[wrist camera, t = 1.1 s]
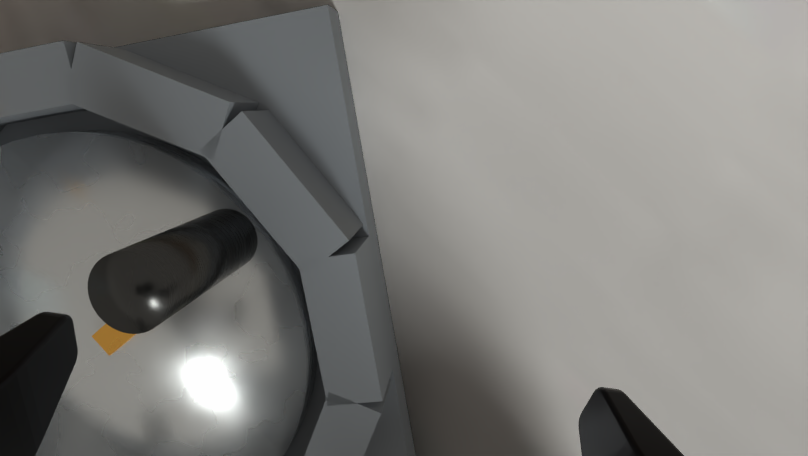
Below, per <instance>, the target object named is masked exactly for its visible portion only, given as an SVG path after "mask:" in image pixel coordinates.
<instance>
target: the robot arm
mask: <svg viewBox="0 0 808 456" xmlns="http://www.w3.org/2000/svg"><path fill="white" fill-rule="evenodd" d="M77 356H78V347H77V341H76V335H75V330H74V324H73V320H72V318H71V317H70V316H69V315H67V314H61V313H53V312H42V313H39V314H37V315H35V316H33V317H32V318H30V319H28V320H26V321H25V322H23V323H21V324H20V325H18V326H16V327H15V328H13V329H11V330H9V331H8V332H6V333H4V334H3V335H1V336H0V456H35V455H36V453H37V451H38V449H39V447H40V445H41V443H42V440H43V438H44V436H45V434H46V431H47V429H48V427H49V424H50V422H51V420H52V417H53V415H54V413H55V410H56V408H57V406H58V403H59V401H60V399H61V396H62V394H63V392H64V389H65V387H66V385H67V382H68V380H69V378H70V375H71V373H72V371H73V368H74V366H75V364H76V360H77ZM579 434H580V442H581V451H582V456H684V455H683V454H682V453H681V452H680V451H679V450H678V449H677V448H676V447H675V446H674V445H673V444H672V443H671V442H670V440H669V439H668V438H667V437H666V436H665V435H664V434H663V433H662V432H661V431H660V430H659V429H658V428H657V427H656V426H655V425H654V424H653V423H652V422H651V420H650V419H649V418H648V417H647V416H646V415H645V414H644V413H643V412H642V411H641V410H640V409H639V408H638V407H637V406H636V405H635V404H634V403H633V402H632V401H631V399H630V398H629V397H628V396H627V395H626V394H625V393H624V392H622V391H621V390H618V389H612V388H604V387H599V388H598V389H596V390H595V391H594V393H593V395H592V396H591V398H590V400H589V401H588V403H587V405H586V406H585V408H584V410H583V411H582V413H581V415H580V418H579Z"/></svg>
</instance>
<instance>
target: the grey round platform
mask: <svg viewBox="0 0 808 456" xmlns="http://www.w3.org/2000/svg"><path fill="white" fill-rule="evenodd" d="M89 130H94V131H117V132H123V133H128V134H134V135H139V136H144V137H148V138H151V139H154V140H157V141H160V142H163V143H166V144H169V145H172V146H174V147H176V148H178V149H180V150H182V151H184V152H187V153H189V154H191V155H193V156H195V157H197V158H199V159H200V160H202V161H203V162H205V163H206V164H208V165H210V166H211V167H213V168H214V169H216V171H217V172H218V173H219V174H220V175H221V177H222V178H223V179H224V180H225V181H226V182H227V184H228V185H229V186H230V187H231V188H232V190H233V191H234V192H235V193H236V194H237V195H238V197H239V198H240V199H241V200H242V201H243V203H244V204H245V205H246V206H247V207H248V209H249V210H250V211H251V212H252V213H253V214H254V216H255V217H256V218H257V219H258V220H259V222H260V223H261V224H262V225H263V226H264V227H265V229H266V230H267V231H268V232H269V233H270V235H271V236H272V237H273V238H274V239H275V241H276V242H277V243H278V244H279V245H280V246H281V248H282V249H283V250H284V251H285V252H286V254H287V255H288V256H289V257H290V258H291V260H292V261H293V262H294V263H295V264H296V265H297V267H298V268H299V271H300V274H301V279H302V284H303V288H304V293H305V298H306V303H307V308H308V313H309V318H310V322H311V327H312V332H313V337H314V342H315V347H316V352H317V365H316V372H315V380H314V387H313V391H312V394H311V398H310V401H309V405H308V408H307V411H306V414H305V416H304V418H303V420H302V422H301V424H300V427H299V429H298V431H297V433H296V435H295V437H294V438H293V440H292V442H291V444H290V446H289V448H288V450H287V451H286V453H285V455H284V456H416V454H415V449H414V443H413V437H412V432H411V426H410V420H409V415H408V409H407V403H406V398H405V392H404V386H403V380H402V375H401V369H400V363H399V358H398V352H397V346H396V341H395V335H394V329H393V323H392V318H391V312H390V306H389V301H388V295H387V289H386V284H385V278H384V272H383V266H382V261H381V255H380V249H379V244H378V238H377V232H376V227H375V221H374V215H373V209H372V204H371V198H370V192H369V187H368V181H367V175H366V170H365V164H364V158H363V152H362V147H361V141H360V135H359V130H358V124H357V118H356V113H355V107H354V101H353V95H352V90H351V84H350V78H349V73H348V67H347V61H346V56H345V50H344V44H343V38H342V33H341V27H340V21H339V16H338V11H336V10H335V9H333V8H332V7H330V6H329V5H324V6H319V7H314V8H309V9H304V10H299V11H294V12H289V13H284V14H279V15H274V16H269V17H264V18H259V19H254V20H249V21H244V22H239V23H234V24H229V25H224V26H219V27H214V28H209V29H204V30H199V31H194V32H189V33H184V34H179V35H174V36H169V37H164V38H159V39H154V40H149V41H144V42H139V43H134V44H129V45H124V46H119V47H114V48H113V47H107V46H100V45H94V44H88V43H81V42H77V43H76V42H70V41H58V42H54V43H49V44H44V45H39V46H34V47H29V48H24V49H20V50H15V51H10V52H5V53H0V146H2V145H5V144H7V143H9V142H12V141H16V140H20V139H23V138H27V137H31V136H35V135H41V134H51V133H61V132H74V131H89Z"/></svg>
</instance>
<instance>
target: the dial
mask: <svg viewBox="0 0 808 456" xmlns="http://www.w3.org/2000/svg"><path fill="white" fill-rule="evenodd" d="M42 312H53V313H61V314H67V315H69V316H70V317H71V318H72V320H73V324H74V330H75V335H76V341H77V347H78V356H77V360H76V364H75V366H74V368H73V371H72V373H71V375H70V378H69V380H68V382H67V385H66V387H65V389H64V392H63V394H62V396H61V399H60V401H59V403H58V406H57V408H56V410H55V413H54V415H53V417H52V420H51V422H50V424H49V427H48V429H47V431H46V434H45V436H44V438H43V440H42V443H41V445H40V447H39V449H38V451H37V453H36V455H35V456H284V455H285V453H286V451H287V450H288V448H289V446H290V444H291V442H292V440H293V438H294V437H295V435H296V433H297V431H298V429H299V427H300V424H301V422H302V420H303V418H304V416H305V414H306V411H307V408H308V405H309V401H310V398H311V394H312V391H313V387H314V380H315V372H316V365H317V352H316V347H315V342H314V337H313V332H312V327H311V322H310V318H309V313H308V308H307V303H306V298H305V293H304V288H303V284H302V279H301V274H300V271H299V268H298V267H297V265H296V264H295V263H294V262H293V261H292V260H291V258H290V257H289V256H288V255H287V254H286V252H285V251H284V250H283V249H282V248H281V246H280V245H279V244H278V243H277V242H276V241H275V239H274V238H273V237H272V236H271V235H270V233H269V232H268V231H267V230H266V229H265V227H264V226H263V225H262V224H261V223H260V222H259V220H258V219H257V218H256V217H255V216H254V214H253V213H252V212H251V211H250V210H249V209H248V207H247V206H246V205H245V204H244V203H243V201H242V200H241V199H240V198H239V197H238V195H237V194H236V193H235V192H234V191H233V190H232V188H231V187H230V186H229V185H228V184H227V182H226V181H225V180H224V179H223V178H222V177H221V175H220V174H219V173H218V172H217V171H216V169H214V168H213V167H211V166H210V165H208V164H206V163H205V162H203V161H202V160H200V159H199V158H197V157H195V156H193V155H191V154H189V153H187V152H184V151H182V150H180V149H178V148H176V147H174V146H172V145H169V144H166V143H163V142H160V141H157V140H154V139H151V138H148V137H144V136H139V135H134V134H128V133H123V132H117V131H94V130H89V131H74V132H61V133H51V134H41V135H35V136H31V137H27V138H23V139H20V140H16V141H12V142H9V143H7V144H5V145H2V146H0V336H1V335H3V334H4V333H6V332H8V331H9V330H11V329H13V328H15V327H16V326H18V325H20V324H21V323H23V322H25V321H26V320H28V319H30V318H32V317H33V316H35V315H37V314H39V313H42Z"/></svg>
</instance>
